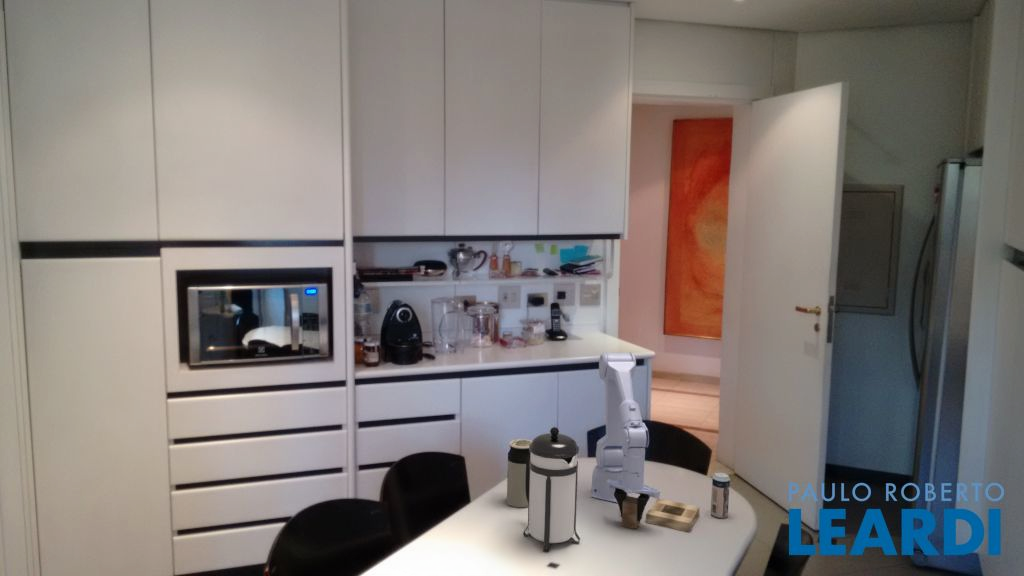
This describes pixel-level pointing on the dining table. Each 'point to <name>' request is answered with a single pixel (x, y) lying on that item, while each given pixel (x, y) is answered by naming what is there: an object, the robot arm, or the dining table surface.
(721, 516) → the beer can
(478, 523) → the dining table surface
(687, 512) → the oak socket block
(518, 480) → the travel mug
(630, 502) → the walnut peg
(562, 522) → the coffee press
